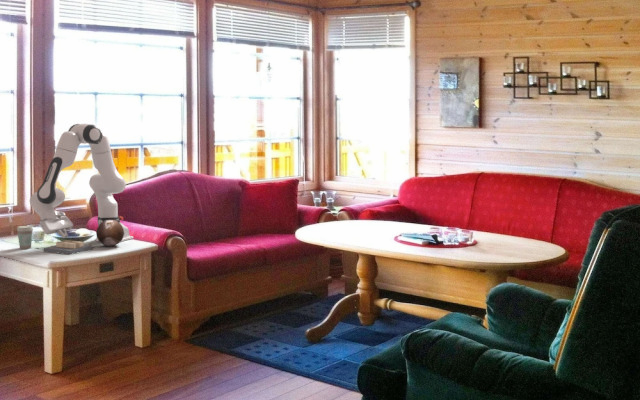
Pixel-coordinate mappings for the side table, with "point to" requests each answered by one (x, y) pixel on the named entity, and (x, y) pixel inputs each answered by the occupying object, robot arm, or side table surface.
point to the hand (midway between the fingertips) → (65, 236)
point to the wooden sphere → (110, 232)
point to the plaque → (69, 244)
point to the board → (67, 249)
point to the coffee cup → (25, 236)
